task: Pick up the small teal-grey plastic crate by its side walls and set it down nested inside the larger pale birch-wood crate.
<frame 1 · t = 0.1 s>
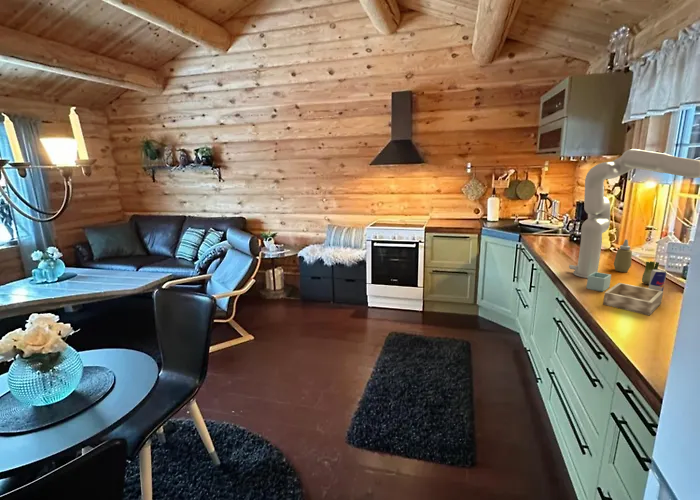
wooden crate: (632, 303, 166), on the table
small crate: (597, 287, 186), on the table
fennel bulb: (648, 284, 191), on the table
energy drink: (654, 296, 176), on the table
squeeze bottle: (621, 271, 215), on the table
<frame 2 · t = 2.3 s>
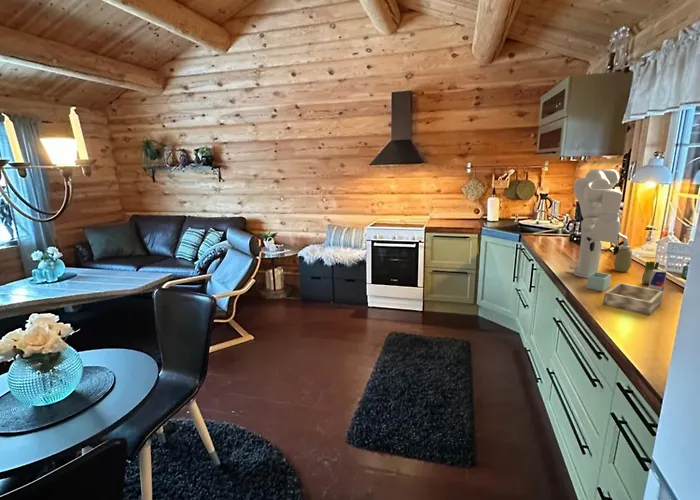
hand: (603, 252, 182), 18 cm above the table, tool pointing down, fingers open, 9 cm apart
nothing on the table moved.
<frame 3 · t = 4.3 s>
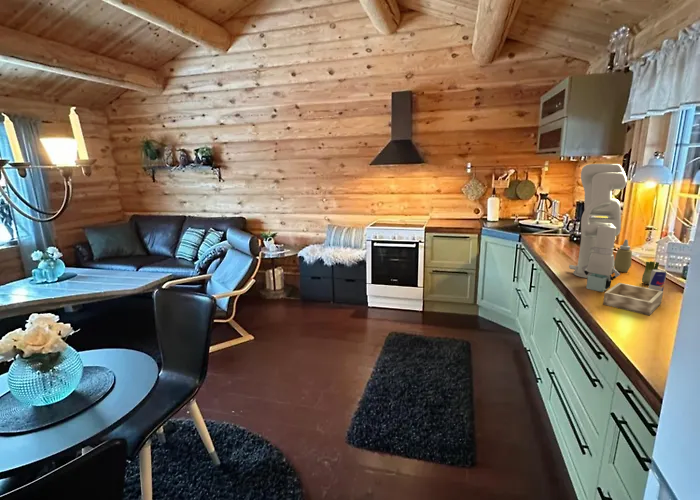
hand: (598, 286, 186), 1 cm above the table, tool pointing down, fingers closed on small crate, 7 cm apart
small crate: (597, 287, 186), on the table, touching gripper
everything else where it was.
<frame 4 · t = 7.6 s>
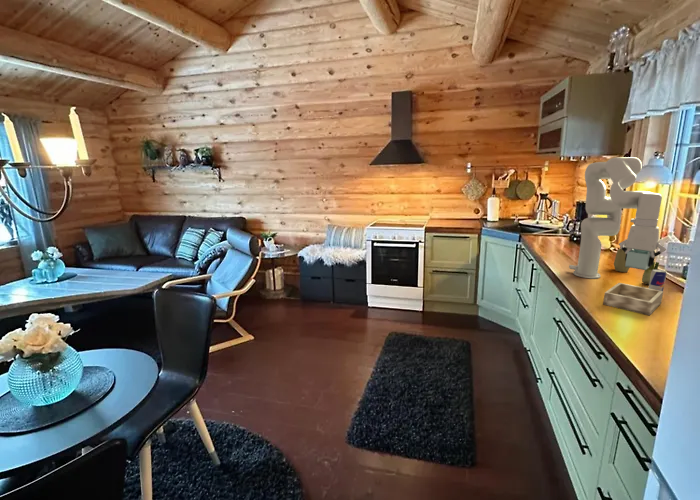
hand: (638, 264, 162), 18 cm above the table, tool pointing down, fingers closed on small crate, 7 cm apart
small crate: (638, 266, 162), point 17 cm above the table, touching gripper
everything else where it was.
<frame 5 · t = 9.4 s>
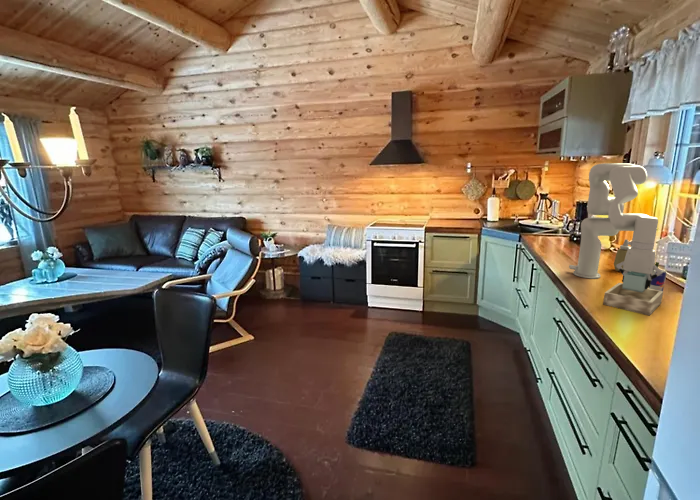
hand: (635, 286, 164), 8 cm above the table, tool pointing down, fingers closed on small crate, 7 cm apart
small crate: (635, 288, 164), point 7 cm above the table, touching gripper
everything else where it was.
when the fingers open (3 cm above the table, at t = 10.9 s): small crate drops 1 cm, resting on wooden crate.
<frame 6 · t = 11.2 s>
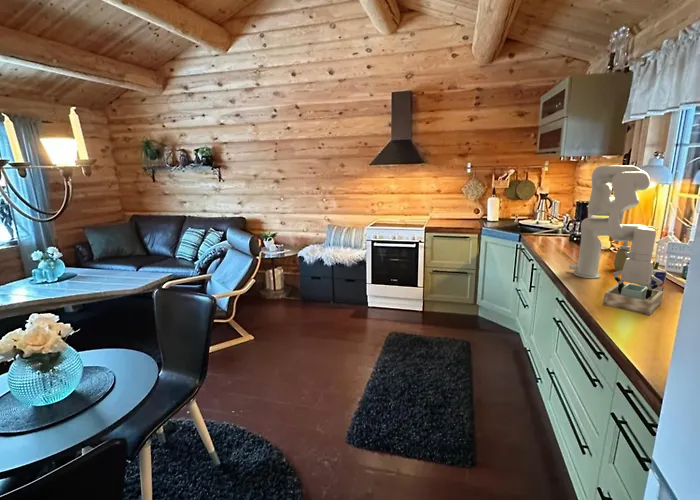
hand: (633, 295, 165), 4 cm above the table, tool pointing down, fingers open, 9 cm apart
small crate: (632, 301, 165), point 1 cm above the table, touching wooden crate
everything else where it was.
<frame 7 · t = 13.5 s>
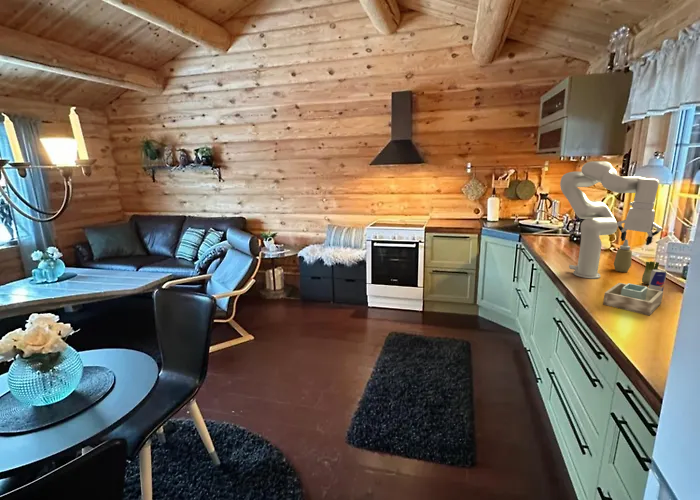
hand: (635, 242, 177), 24 cm above the table, tool pointing down, fingers open, 9 cm apart
nothing on the table moved.
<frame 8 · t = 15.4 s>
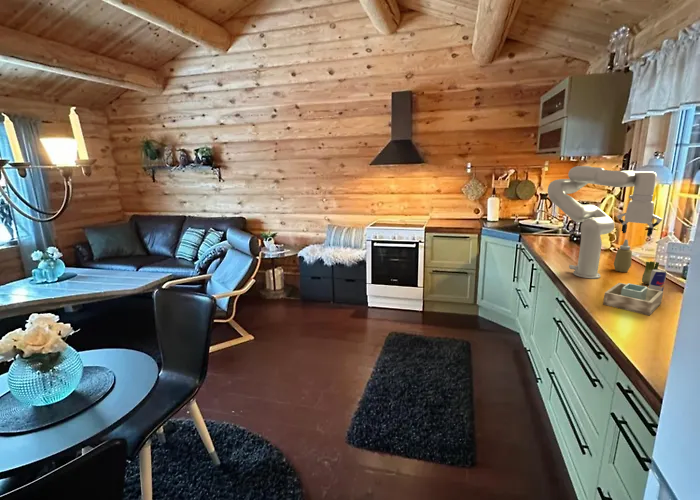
hand: (636, 234, 182), 26 cm above the table, tool pointing down, fingers open, 9 cm apart
nothing on the table moved.
at the end: small crate inside the target area on the wooden crate (0.0 cm from its centre), point 1.0 cm above the wooden crate's base; small crate tilted 0°; the gripper is holding nothing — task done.
